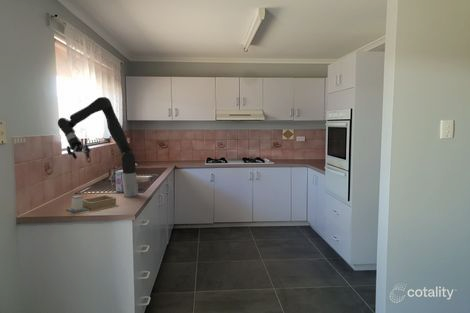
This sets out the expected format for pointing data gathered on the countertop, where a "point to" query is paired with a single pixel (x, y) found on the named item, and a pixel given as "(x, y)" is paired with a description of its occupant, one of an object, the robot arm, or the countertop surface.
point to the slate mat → (77, 210)
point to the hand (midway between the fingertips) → (82, 157)
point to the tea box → (77, 202)
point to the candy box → (119, 181)
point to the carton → (99, 202)
